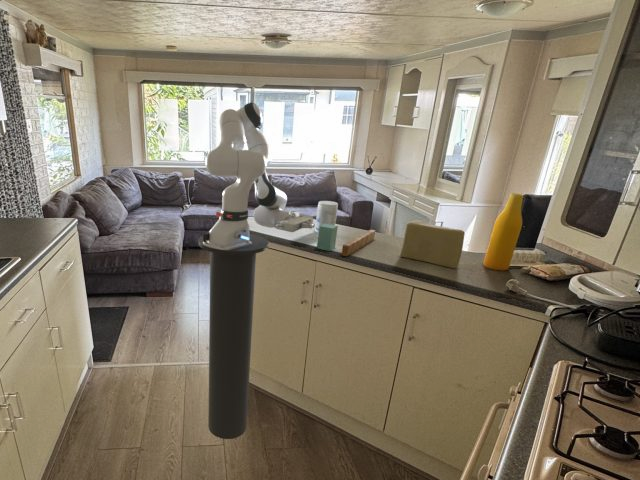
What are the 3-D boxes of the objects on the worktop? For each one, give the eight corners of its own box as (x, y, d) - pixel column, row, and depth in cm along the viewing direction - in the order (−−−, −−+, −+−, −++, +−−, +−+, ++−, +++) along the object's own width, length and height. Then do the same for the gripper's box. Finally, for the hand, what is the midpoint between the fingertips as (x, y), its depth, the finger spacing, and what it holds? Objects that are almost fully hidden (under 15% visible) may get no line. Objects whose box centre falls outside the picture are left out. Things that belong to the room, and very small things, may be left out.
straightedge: (346, 256, 179) (348, 246, 177) (341, 255, 180) (342, 244, 178) (373, 239, 204) (375, 230, 203) (368, 238, 206) (370, 229, 204)
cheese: (461, 266, 173) (471, 229, 166) (452, 271, 166) (461, 233, 160) (409, 252, 187) (416, 218, 181) (399, 256, 181) (405, 221, 175)
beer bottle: (509, 272, 168) (532, 197, 156) (482, 268, 171) (503, 194, 160) (507, 265, 175) (530, 194, 163) (482, 261, 179) (502, 191, 167)
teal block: (329, 251, 184) (332, 228, 180) (316, 248, 188) (319, 225, 183) (334, 248, 189) (337, 225, 185) (322, 245, 192) (325, 223, 188)
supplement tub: (311, 230, 217) (315, 200, 211) (329, 229, 219) (332, 200, 213) (319, 235, 208) (323, 204, 202) (337, 234, 210) (341, 204, 204)
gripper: (274, 218, 186) (303, 223, 179) (296, 210, 202) (323, 215, 195) (273, 232, 189) (301, 238, 182) (295, 223, 205) (322, 228, 198)
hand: (313, 226), depth 189 cm, fingers closed
